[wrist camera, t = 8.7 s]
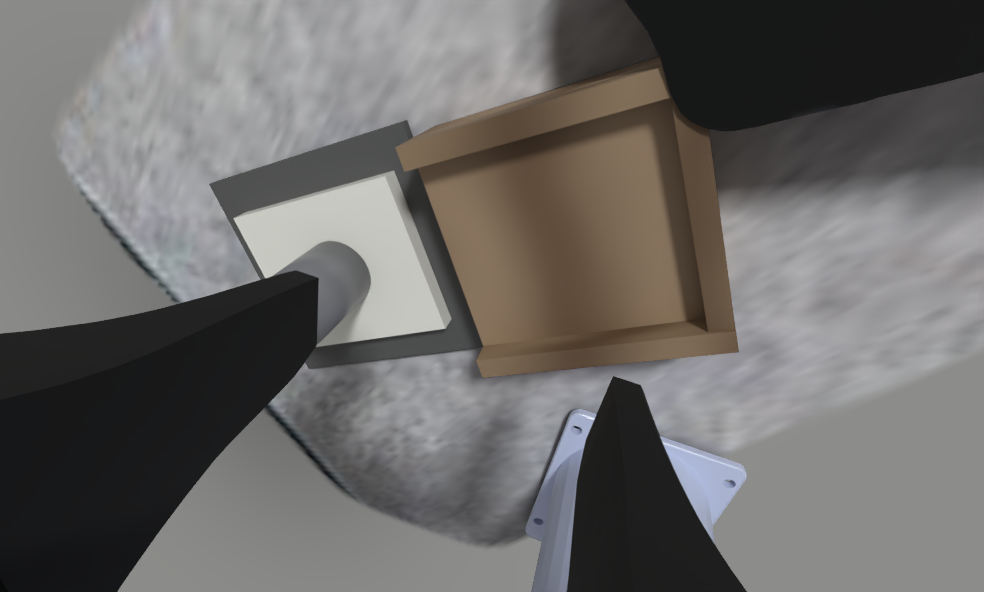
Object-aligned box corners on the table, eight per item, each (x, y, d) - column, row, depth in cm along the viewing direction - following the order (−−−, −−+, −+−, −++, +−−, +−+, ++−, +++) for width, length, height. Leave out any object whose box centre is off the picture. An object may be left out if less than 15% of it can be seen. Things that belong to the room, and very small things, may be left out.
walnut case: (690, 47, 16) (698, 55, 13) (725, 299, 19) (738, 351, 16) (434, 126, 19) (395, 147, 16) (504, 329, 23) (482, 377, 20)
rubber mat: (407, 120, 19) (402, 122, 19) (487, 341, 23) (484, 346, 23) (215, 181, 23) (209, 184, 23) (313, 364, 27) (308, 368, 27)
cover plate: (393, 170, 20) (336, 206, 16) (451, 319, 23) (413, 377, 19) (245, 212, 23) (169, 250, 19) (312, 340, 26) (256, 394, 22)
